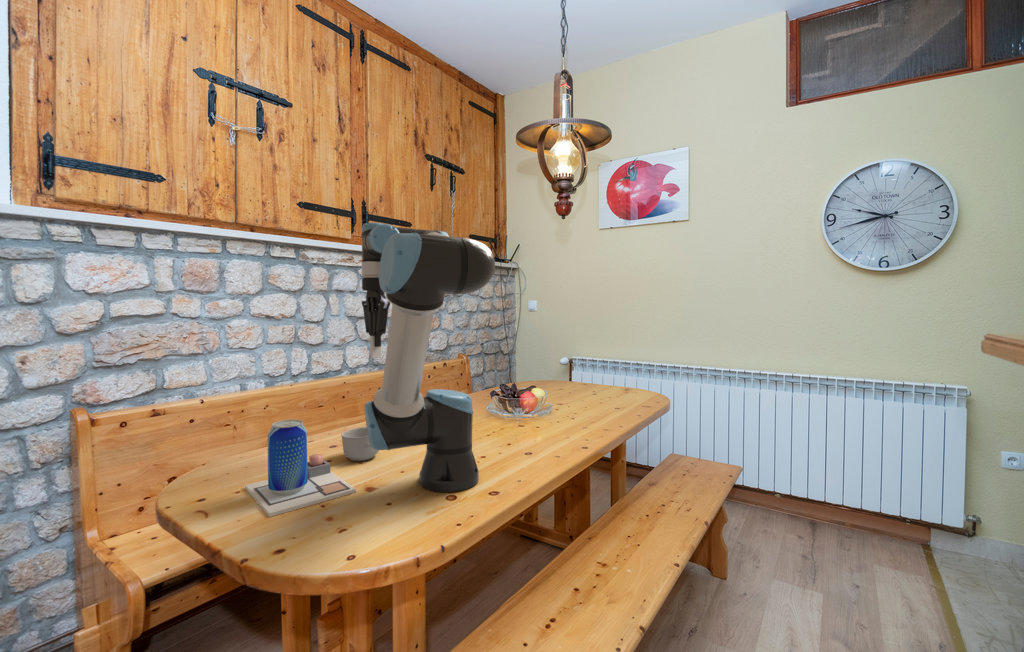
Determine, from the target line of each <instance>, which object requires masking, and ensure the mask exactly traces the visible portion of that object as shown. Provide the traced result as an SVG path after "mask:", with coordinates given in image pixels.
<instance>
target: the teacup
mask: <svg viewBox="0 0 1024 652" xmlns="http://www.w3.org/2000/svg"><path fill="white" fill-rule="evenodd" d="M340 436H341V438H342V439H341V441H342V442H341V443H342V450H343V453H344V456H345V457H346V458H348V459H350V460H351V461H352V462H362V461H367V460H368V461H369V460H371V459H372V458H374V457H375V456H376V455H377V454H378V453H379V451H380V450H374V449H373V448H372V447H371V445H370V442H369V438H368V432H367V426H362V427H355V428H351V429H347V430H345V431H343V432H342V433H341V435H340Z"/></svg>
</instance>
